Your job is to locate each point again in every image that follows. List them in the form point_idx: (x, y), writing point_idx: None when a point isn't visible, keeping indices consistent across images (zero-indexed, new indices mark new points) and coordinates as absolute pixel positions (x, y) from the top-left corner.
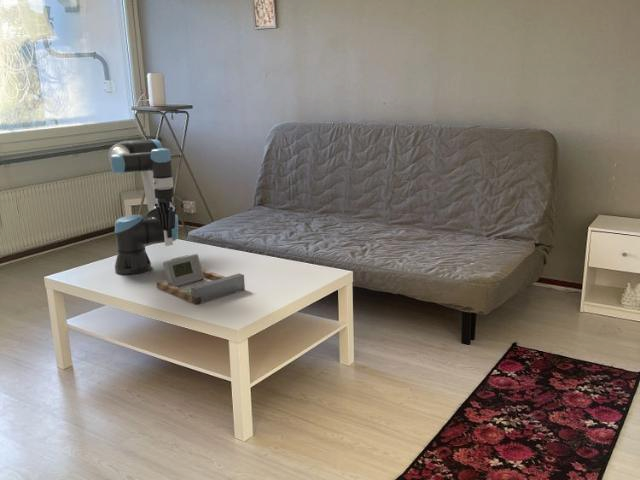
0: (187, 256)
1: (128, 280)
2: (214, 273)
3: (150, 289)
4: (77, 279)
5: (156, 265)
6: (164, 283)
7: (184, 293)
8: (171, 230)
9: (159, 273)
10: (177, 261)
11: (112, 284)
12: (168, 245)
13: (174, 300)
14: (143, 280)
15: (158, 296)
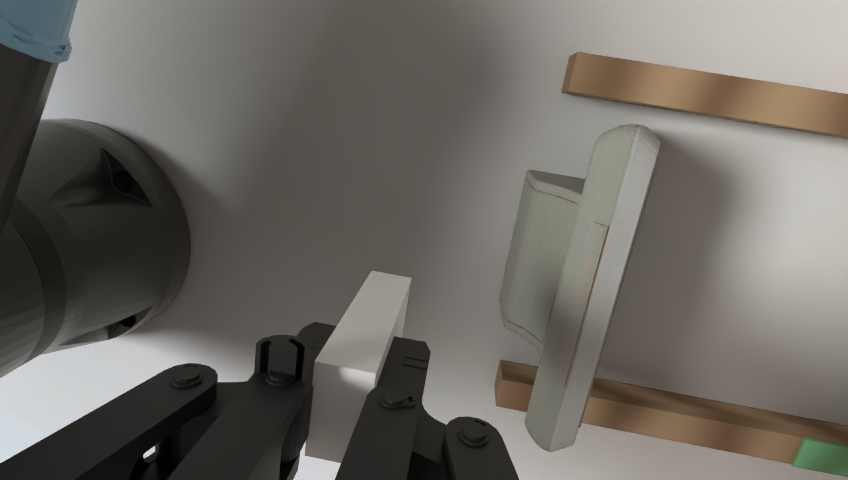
0: (624, 257)
1: (252, 373)
2: (739, 83)
3: (482, 415)
4: None
5: (114, 88)
6: None
7: (811, 467)
8: (421, 404)
9: (282, 198)
10: (600, 354)
11: None
12: (403, 328)
13: (736, 470)
14: None
15: (609, 465)
